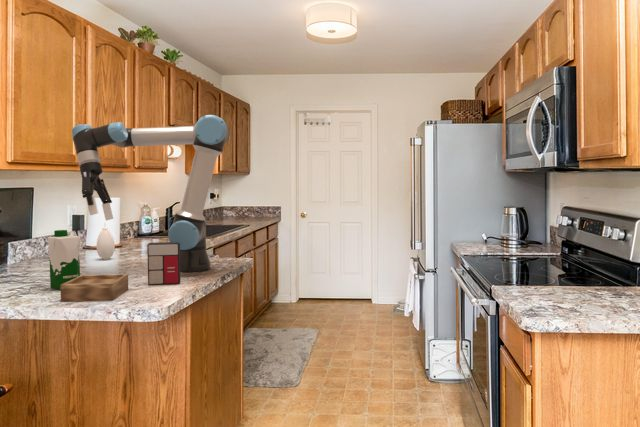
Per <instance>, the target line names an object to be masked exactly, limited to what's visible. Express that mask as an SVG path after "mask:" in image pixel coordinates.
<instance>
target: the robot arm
mask: <svg viewBox="0 0 640 427" xmlns="http://www.w3.org/2000/svg"><path fill="white" fill-rule="evenodd" d="M71 135H72V142H73V145H74V149H75V153H76V158H77V159H76V161H77V162H78V165H79V171H80V175H81V177H82V179H81V183H82V184H81V194H82V198H83V199H84V198H85V199H86V203H87V208H88V212H89V213H88V214H89V216H93V215H96V214H99V211H98V206H97V202H96V198H95V196H94V192H96V193H97V195H98V198H99V199H100V201H101V203H102V204H101V206H102V212H103V214H104V218H105V219H104V220H105V221H110V220H113V219H114V216H113V211H112V208H111V204H112V203H113V200H111V199H112V198H111V196H110V194H109V191H108V189H107V187H106V185H105V181H104V179H103V178H102V179H101V177H100V175H101V174H102V173H103V168H102V165H101V159H100V155H99V151H98V149H99V148H102V147H106V146H110V145H112V146H115V147H118V148H128V147H150V146H152V147H153V146H154V147H155V146H175V145H176V146H177V145H178V146H180V145H182V146H183V145H184V146H185V145H192V146H193V148H194V150H195V152H194V156H193V159H192V164H191V168H190V171H189V175H188V180H187V183H186V186H185V187H186V188H185V192H184V196H183V199H182V202H181V208H180V209H179V210H178V211H176V212H175V214H174V218H173V221H172V224H171V226H170V227H169V229H168V233H167V236H168V242H180V272H181V273H182V272H184V273H185V272H186V273H188V272H189V273H191V272H201V271H207V270H206V269H208V270H210V269H211V261H210V257H209V255H208V252H207V227H206V226H207V220H206V216H204V215H203V213H204V210H205V207H206V206H205V205H206V202H207V198H208V194H209V189H210V185H211V182H212V179H213V174H214V170H215V167H216V163H217V159H218V157H219V156H220V155H222V154H223V151H224V149H225V145H226V144H227V142H228V140H229V138H230V129H229V126H228V125H227V123H226V122H225V120H224V119H223V118H221V117H220V116H217V115H214V114H205V115H203V116H201V117H200V118H199V119H198V120H197V122H196V123H195V124H194V125H191V126H190V125H188V126H185V125H184V126H159V127H158V126H157V127H156V126H155V127H130V128H129V127H128V128H126V126H125V125H124V123H123V122H121V121H116V122H111V123H109V124H104V125H101V126H98V127H94V128H93V127H92V126H91V124H90V125H89V124H85V123H84V124H77V125H75V126H73V127H72V128H71ZM209 268H210V269H209Z"/></svg>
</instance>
